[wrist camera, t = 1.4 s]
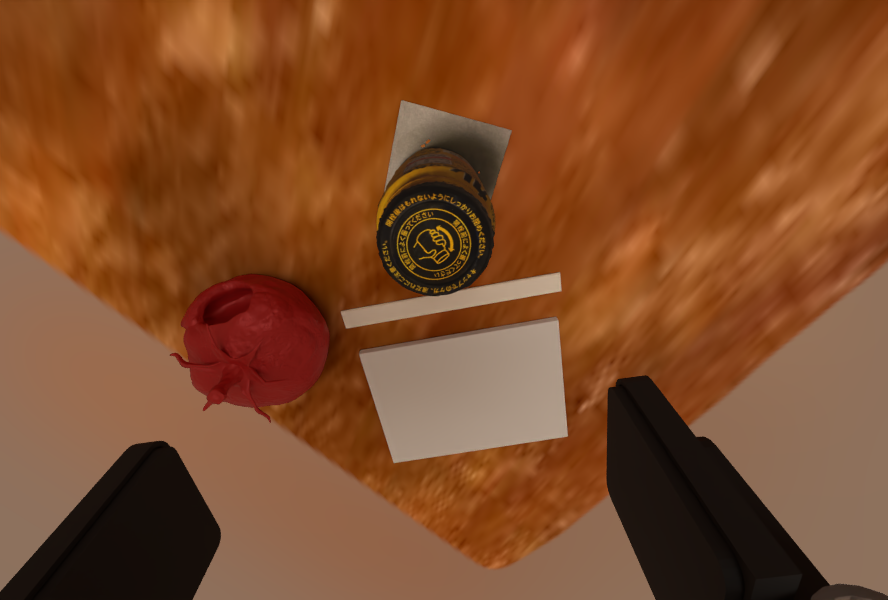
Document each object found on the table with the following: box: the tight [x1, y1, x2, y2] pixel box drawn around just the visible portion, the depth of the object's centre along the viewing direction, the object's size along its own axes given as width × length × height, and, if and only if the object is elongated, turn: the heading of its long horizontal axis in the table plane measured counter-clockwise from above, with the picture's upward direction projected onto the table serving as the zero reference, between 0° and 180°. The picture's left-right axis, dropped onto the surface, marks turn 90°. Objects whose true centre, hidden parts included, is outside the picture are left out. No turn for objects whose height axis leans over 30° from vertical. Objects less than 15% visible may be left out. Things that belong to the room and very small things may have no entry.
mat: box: [359, 317, 568, 463], centre depth 36 cm, size 12×16×1 cm
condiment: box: [376, 100, 512, 296], centre depth 24 cm, size 7×8×12 cm
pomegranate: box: [170, 274, 330, 423], centre depth 29 cm, size 10×10×9 cm
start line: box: [341, 272, 561, 329], centre depth 33 cm, size 2×17×1 cm, turn 101°
